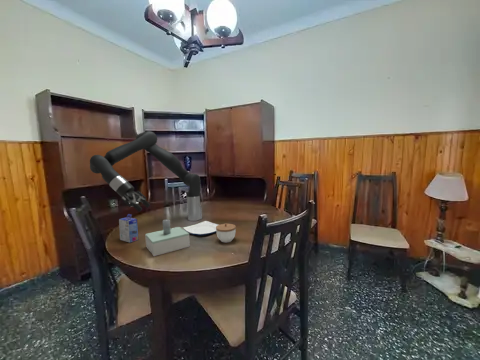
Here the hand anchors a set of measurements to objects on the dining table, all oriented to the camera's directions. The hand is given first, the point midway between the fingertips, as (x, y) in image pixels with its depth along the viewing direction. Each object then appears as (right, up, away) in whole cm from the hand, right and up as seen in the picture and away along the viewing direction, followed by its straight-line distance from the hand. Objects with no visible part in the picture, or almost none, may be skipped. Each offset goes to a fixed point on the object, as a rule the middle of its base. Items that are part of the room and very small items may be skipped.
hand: (145, 208), depth 117 cm
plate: (+26, -17, +25) cm, 40 cm away
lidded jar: (+41, -19, +7) cm, 46 cm away
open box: (+12, -20, +1) cm, 23 cm away
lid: (+11, -15, 0) cm, 19 cm away
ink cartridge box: (-14, -20, +12) cm, 27 cm away
